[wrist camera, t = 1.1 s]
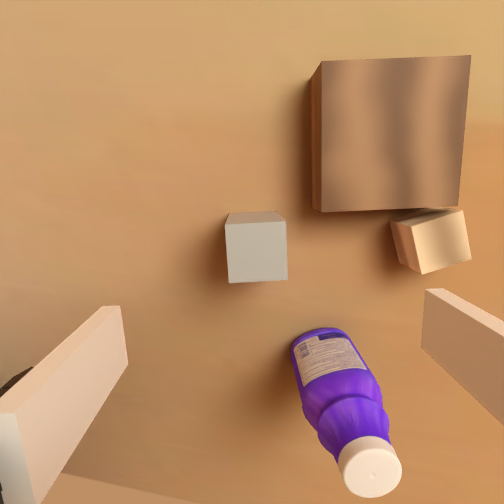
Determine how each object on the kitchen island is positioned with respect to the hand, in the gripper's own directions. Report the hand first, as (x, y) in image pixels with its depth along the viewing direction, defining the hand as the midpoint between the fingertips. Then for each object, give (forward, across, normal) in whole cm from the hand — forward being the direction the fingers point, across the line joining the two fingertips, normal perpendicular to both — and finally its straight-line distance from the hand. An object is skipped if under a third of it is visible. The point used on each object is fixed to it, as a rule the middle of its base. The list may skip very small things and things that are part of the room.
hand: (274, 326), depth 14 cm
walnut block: (+23, +13, +9) cm, 28 cm away
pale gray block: (+23, 0, 0) cm, 23 cm away
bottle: (+23, +7, -14) cm, 27 cm away
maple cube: (+23, +18, -1) cm, 29 cm away
